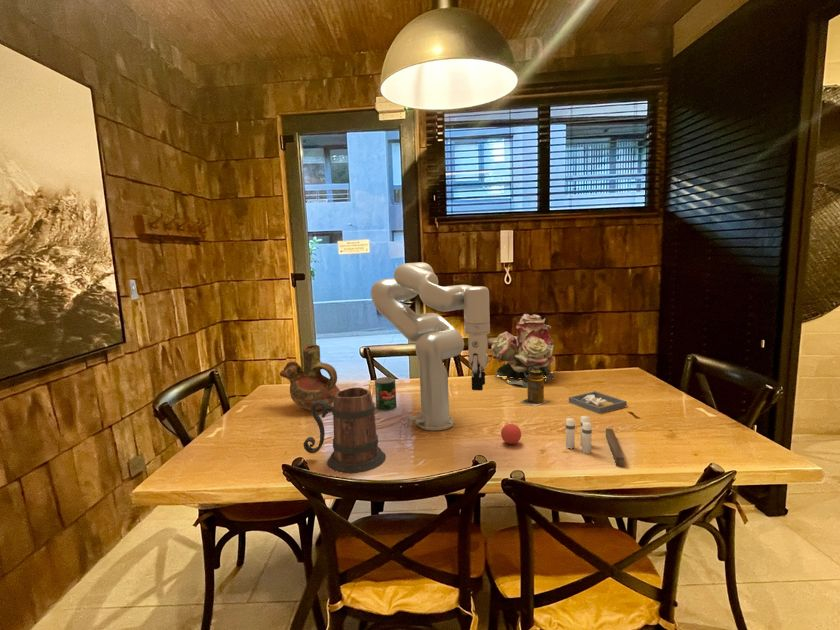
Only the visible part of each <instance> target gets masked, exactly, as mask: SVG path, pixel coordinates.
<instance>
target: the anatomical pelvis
mask: <svg viewBox="0 0 840 630" xmlns="http://www.w3.org/2000/svg"><path fill="white" fill-rule="evenodd" d="M581 401H583V402H586V403H589V404H591V403H592V404H593V403H594V404H593V405H594V406H597V407H600V405H601V404H606V403H607V402H608V401H607V400H604V399H603V400H602V398H596V397H595V395H587V396H586V397H585V398H583V399H581Z"/></svg>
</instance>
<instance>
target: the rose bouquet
mask: <svg viewBox="0 0 840 630" xmlns="http://www.w3.org/2000/svg"><path fill="white" fill-rule="evenodd" d="M546 319H547V318H546V317H544V318H543V319H542V316H540V315H539V314H535V313H534V314H531V315H530V314H528V313H523V315H522V316H521V317H520V319H519V322H517V324H516V325H515V329H516V332H517V336H515V335H513V334H512V333H510V332H508V331H507V330H506V331H504V332H502V333H499V334H498V335H497V337H496V339H495V340H493V341H492V342H491V343H492V344H491V346H490V347H491V351H492V358H493V359H494V360H497V364H498V363H501V362H507V363H503V364H502V366H500V367H499V368H498V369H497V370H496V374H495V376H497V375H499V376H507V377H517V378H516V379H517V380H514V379H515V378H506V379H505V380H504V381H506V380H509V381H511V382H509V383H507V384H508V385H520V386H522V387H523V388H525V389H528V379H523V380H524V381H519V380H520V379H518V378H528V377H529V376H528V375H529V373H528V372H529V371H530V370H541V371H542V372H543V377H545V376H546V377H547V378H543V379H544V384H549V383H548V382H549V381H545V379H547V380H554V379H555V375H554V374H553V373H551V371H550V368H549V367H550V364H551V363H553V362H554V361H555V360H554V358H553V352H554V347H555V345H554V343H553V342H552V341H553V340H554V338H553V337H552V338H551V335H550V331H549V330H551V329H552V326H551V325H548V324H545V321H546ZM544 375H545V376H544ZM495 376H494V377H495ZM552 378H553V379H552Z"/></svg>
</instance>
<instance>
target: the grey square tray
mask: <svg viewBox="0 0 840 630" xmlns="http://www.w3.org/2000/svg"><path fill="white" fill-rule="evenodd" d="M587 395H595V398H596V397H597V398H598V399H599V398H602V399H604V400H607V402H608V401H610V402H609V403H611V402H612V403H611V404H607V405H602V406H598V407H597V406H596V405H595V404H593V403H592V404H591V403H586V402H583V401H581V399H583V398H585V397H586V396H587ZM597 398H596V399H597ZM602 399H601V400H602ZM627 402H628V401H626V400H624V399H621V398H618V397H614V396H611V395H607V394H604V393H601V392H599V391H596V390H595V391H590V392H586V393H582V394H577V395H572V396H568V403H570V404H572V405H575V406H576V407H577V406H578V407H580V408H583V409H585V410H588V411H591V412H593V413H596V414H599V415H601V414H604V412H605V413H607V411H609V412H611V410H612V411H615V409H616V410H619V409H618V408H620V409H623V408H622V407H624V408H626V407H625V406H627V407H628V405H627V404H628V403H627ZM600 413H601V414H600Z"/></svg>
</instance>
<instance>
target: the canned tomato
mask: <svg viewBox="0 0 840 630" xmlns="http://www.w3.org/2000/svg"><path fill="white" fill-rule="evenodd" d="M374 389H375V410H376V411H379V412H390V410H391V411H394V410H396V409H397V392H396V391H397V390H396V389H397V387H396V378H394V377H392V376H386V377H385V376H382V377H379V378H376V379H375V380H374ZM393 409H394V410H393Z"/></svg>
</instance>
